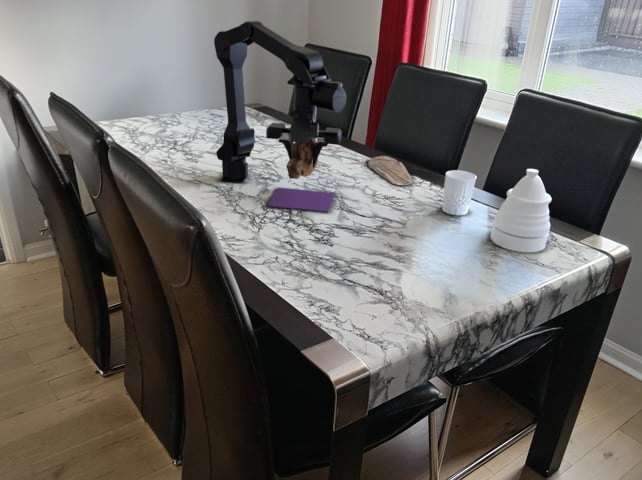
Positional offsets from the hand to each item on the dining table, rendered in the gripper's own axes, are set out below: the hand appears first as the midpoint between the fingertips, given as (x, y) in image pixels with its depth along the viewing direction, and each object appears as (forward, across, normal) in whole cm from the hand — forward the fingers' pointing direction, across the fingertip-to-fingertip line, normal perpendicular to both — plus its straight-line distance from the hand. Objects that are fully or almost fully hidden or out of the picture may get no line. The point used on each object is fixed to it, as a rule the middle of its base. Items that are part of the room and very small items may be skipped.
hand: (302, 166), depth 151 cm
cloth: (+9, 0, 0) cm, 9 cm away
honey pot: (+9, +55, -13) cm, 57 cm away
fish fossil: (+10, +23, +32) cm, 41 cm away
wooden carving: (+3, 0, 0) cm, 3 cm away
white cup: (+9, +41, +3) cm, 42 cm away
